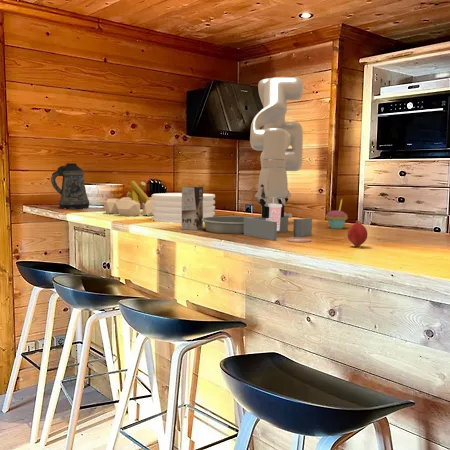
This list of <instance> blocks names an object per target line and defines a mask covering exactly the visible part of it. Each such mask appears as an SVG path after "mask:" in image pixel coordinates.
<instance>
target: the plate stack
mask: <svg viewBox="0 0 450 450" xmlns="http://www.w3.org/2000/svg"><path fill="white" fill-rule="evenodd" d="M151 197H153V198H154V200H152V203H153V204H154V205H153V206H152V209H154V211H152V215H154V216H151V217H152V218H151V219H152V221H153V220H154V222H158V221H160V222H159V223H169V222H173V224H182V192H165V193H164V192H163V193H162V192H161V193H160V192H159V193H153V194H151ZM215 198H216V194H215V193H203V218H205V217H214V216H215V215H216V211H214V210H216V206H215V204H216V200H215ZM203 223H204V221H203Z"/></svg>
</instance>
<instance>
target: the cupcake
mask: <svg viewBox="0 0 450 450" xmlns="http://www.w3.org/2000/svg"><path fill="white" fill-rule="evenodd" d="M342 204H343V199H341V200H340V203H339V207H338V210H337V209H336V210H330V211H328V212H327V213H326V214H325V219H326V220H327V222H328V224H329V228H330V229H334V230H335V229H336V230H337V229H338V230H341V229H343V227H344V225H345V222H346V220H347V221H348V217H349V216H348V214H347V213H346V212H344V211H343V210H342Z"/></svg>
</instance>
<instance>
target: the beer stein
mask: <svg viewBox="0 0 450 450" xmlns="http://www.w3.org/2000/svg"><path fill="white" fill-rule="evenodd" d="M84 174H85V171H84V170H83V169H82V168H81V167H80V166H78V164H77V163H75V162H74V163H71V162H68V163H66V164H65V165H61V166H59V167H57V171H54V172H53V173H52V174H51V178H50V182H51V184H52V187H53V188H54V190H55V191H56V192H57V194H60V200H59V202H58V205H59V209H60V208H66V209H65V210H84V209H83V208H88V209H89V207H90V200H89V197H88V194H87V190H86V185H85V179H84ZM58 177H62V184H61V188H60V187H59V185H58V183H57V181H56V179H57V178H58Z"/></svg>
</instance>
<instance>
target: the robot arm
mask: <svg viewBox="0 0 450 450" xmlns="http://www.w3.org/2000/svg"><path fill="white" fill-rule="evenodd" d="M257 84H258V85H257V88H258V91H257V92H258V95H259V98H260V102H261V104H262V107H263V108H261V109H260V111H258V112H257V113H256V115H254V117H253V119H252V122H251V124H250V133H249V134H250V136H249V143H250V146H251V148H252V150H255V151H262V152H261V153H260V156H259V157H260V167H261V169H260V173H259V175H258V183H257V184H258V186H257V192H256V193H255V194H254V198H255V199H256V200H257V201H258V203H259V205H260V207H261V215H260V217H262V218H269V206H268V204H271V203H273V198H274V204H282V207H281V217H284V215H287V216H288V219H290V218H293V214H292V213H287V212H286V211H285V206H287V203H288V201H289V199H290V198H291V196H292V193H291V192H290V191H289V190H288V187H289V186H288V174H287V172H297V171H300V170H301V169H302V166H303V145H304V144H303V143H304V142H303V141H304V139H303V138H304V136H303V126H302V124H301V123H299V122H297V121H286V114H287V109H288V108H287V107H288V106H287V105H288V104H287V101H299V100H301V99H302V97H303V94H304V84H303V80H302V79H301V78H300V77H299V76H298V77H297V76H296V77H295V76H279V77H278V76H274V77H268V78H263V79H261V80H260V81H258V83H257ZM262 127H263V128H262ZM289 147H290V148H289Z"/></svg>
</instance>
